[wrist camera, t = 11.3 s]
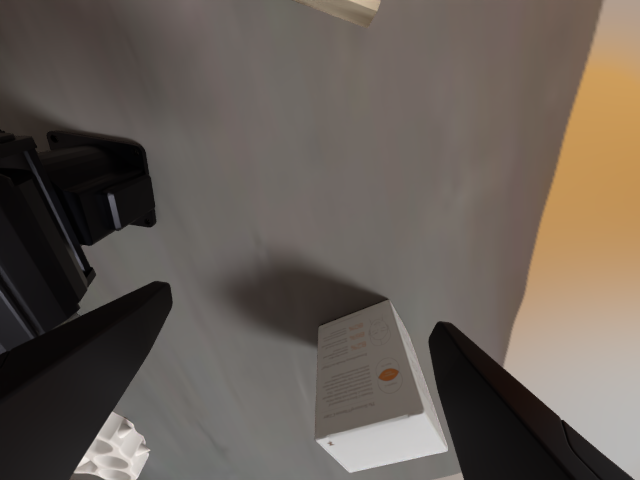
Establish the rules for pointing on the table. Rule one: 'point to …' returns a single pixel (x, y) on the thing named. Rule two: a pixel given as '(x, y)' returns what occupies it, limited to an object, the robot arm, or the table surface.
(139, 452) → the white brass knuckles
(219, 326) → the table surface
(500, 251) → the table surface
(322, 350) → the small box
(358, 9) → the birch base block
